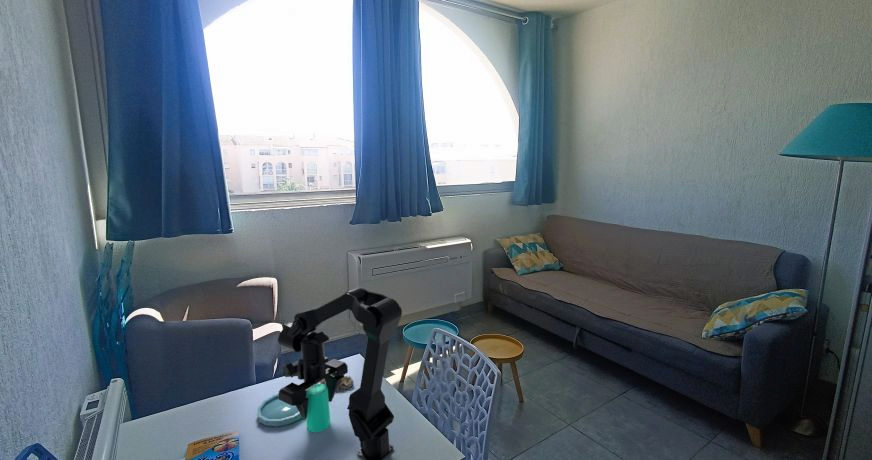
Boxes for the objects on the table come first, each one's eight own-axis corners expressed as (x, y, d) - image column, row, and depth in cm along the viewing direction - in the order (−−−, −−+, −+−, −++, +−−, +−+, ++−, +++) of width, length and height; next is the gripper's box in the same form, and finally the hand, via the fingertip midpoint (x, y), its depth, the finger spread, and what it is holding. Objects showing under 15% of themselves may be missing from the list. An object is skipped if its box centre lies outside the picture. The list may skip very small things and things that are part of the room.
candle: (323, 433, 103) (320, 391, 101) (302, 430, 105) (299, 389, 103) (334, 419, 109) (331, 378, 107) (314, 416, 110) (310, 377, 108)
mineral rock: (356, 371, 130) (350, 378, 122) (356, 385, 129) (350, 392, 121) (323, 372, 130) (315, 379, 122) (324, 386, 130) (315, 394, 122)
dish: (320, 406, 115) (320, 399, 115) (279, 434, 103) (278, 427, 103) (289, 392, 122) (288, 386, 122) (247, 417, 111) (246, 410, 110)
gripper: (319, 335, 115) (323, 384, 118) (262, 363, 100) (268, 419, 103) (347, 343, 110) (350, 395, 112) (290, 374, 94) (296, 433, 97)
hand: (317, 409), depth 106 cm, fingers open, 8 cm apart
